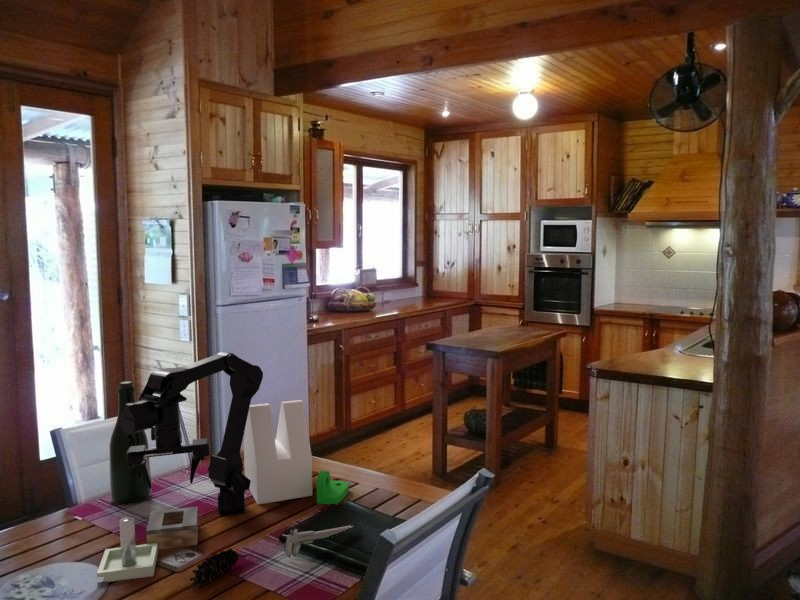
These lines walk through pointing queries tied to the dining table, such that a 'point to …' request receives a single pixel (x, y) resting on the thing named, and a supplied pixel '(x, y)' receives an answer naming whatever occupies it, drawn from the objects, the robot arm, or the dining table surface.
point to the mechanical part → (330, 489)
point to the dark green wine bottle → (125, 478)
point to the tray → (115, 570)
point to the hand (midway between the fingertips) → (171, 485)
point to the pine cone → (215, 566)
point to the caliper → (308, 538)
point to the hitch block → (173, 528)
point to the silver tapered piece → (127, 541)
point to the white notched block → (278, 453)
